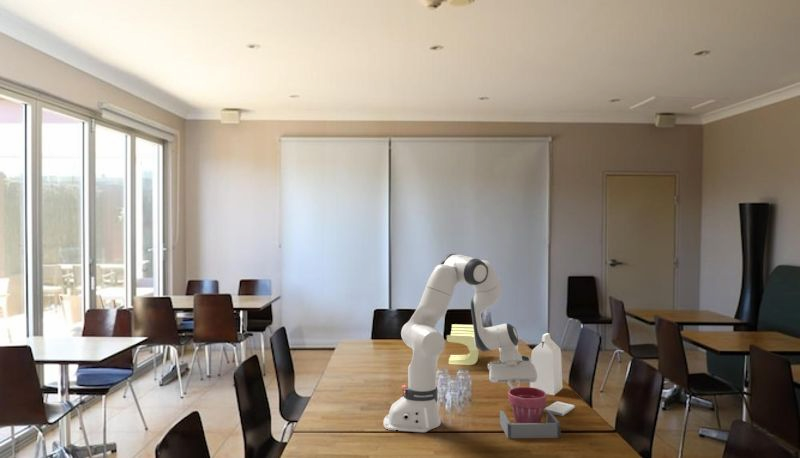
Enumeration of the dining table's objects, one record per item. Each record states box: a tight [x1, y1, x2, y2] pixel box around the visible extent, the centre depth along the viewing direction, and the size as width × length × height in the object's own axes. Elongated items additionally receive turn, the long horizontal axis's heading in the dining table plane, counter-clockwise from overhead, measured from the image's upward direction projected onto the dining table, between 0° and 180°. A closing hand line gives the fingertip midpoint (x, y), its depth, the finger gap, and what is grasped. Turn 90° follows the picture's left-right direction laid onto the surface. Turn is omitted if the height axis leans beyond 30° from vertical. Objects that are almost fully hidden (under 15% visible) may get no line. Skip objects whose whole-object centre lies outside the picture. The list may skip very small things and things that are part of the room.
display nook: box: [499, 410, 562, 439], centre depth 198 cm, size 19×14×5 cm
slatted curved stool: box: [446, 323, 480, 366], centre depth 295 cm, size 30×16×18 cm, turn 169°
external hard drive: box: [543, 401, 576, 417], centre depth 219 cm, size 2×8×12 cm
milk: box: [529, 332, 563, 396], centre depth 245 cm, size 12×12×26 cm
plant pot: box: [507, 386, 547, 423], centre depth 203 cm, size 14×14×13 cm
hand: (515, 390), depth 220 cm, fingers closed
